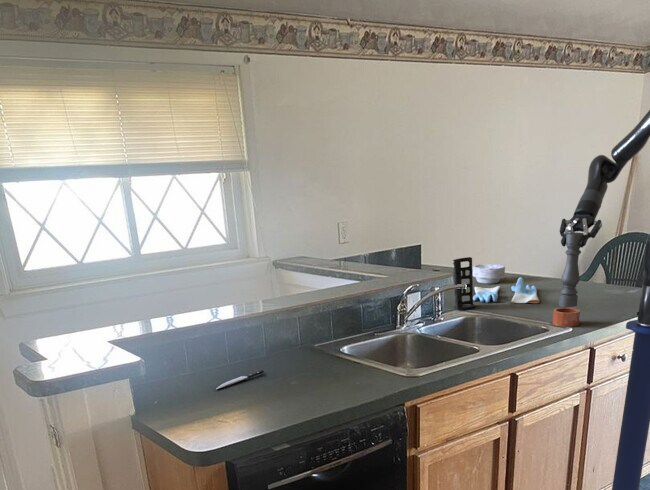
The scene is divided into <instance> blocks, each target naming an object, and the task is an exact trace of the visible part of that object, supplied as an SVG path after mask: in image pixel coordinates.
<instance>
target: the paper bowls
mask: <svg viewBox="0 0 650 490" xmlns="http://www.w3.org/2000/svg"><path fill="white" fill-rule="evenodd" d="M505 271H506V266H505V265H503V264H495V263H479V264H474V265H472V277H474V278H475V280H476V282H477V283H479V284H481V285H482V284H483V285H484V284H485V285H492V284H493V285H494V284H497V283H499V282H500V280H501V279H502V278H504V277H505V275H506V273H505Z"/></svg>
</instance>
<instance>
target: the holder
mask: <svg viewBox="0 0 650 490" xmlns="http://www.w3.org/2000/svg"><path fill="white" fill-rule="evenodd" d="M452 261H453V262H452V264H453V282H454V286H455V285H457V284H462V280H469V283H465V284H466V285H467V287H466V289H463V288H462V289H455V288H454V300H455V301H454V303H455V305H454V306H455V307H454V308H455V309H457V311H463V310H468V309H471V308H475V304H474V300H473V296H474V293H473V292H474V290H473V289H474V288H473V285H474V284H473V283H474V282H473V281H474V280H473V257H471V256H468V257H460V258H456V259H452ZM464 262H468V266H463V267H462V263H464ZM466 271H468V272H469V274H467V273H466ZM466 274H467V275H466ZM462 285H463V284H462ZM467 288H469V291H468V292H467ZM468 296H469V300H463V297H468Z"/></svg>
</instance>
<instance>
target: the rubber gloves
mask: <svg viewBox="0 0 650 490" xmlns="http://www.w3.org/2000/svg"><path fill="white" fill-rule="evenodd" d="M473 289H474V292H475V294H473V302H476V301H478V299H479V301H480V302H481V303H484V302H485V303H486V304H488V303H490V302H491V300H492V302H493V303H496V302H497V301H498V299H499V291H500V289H501V286H500V285H497V286H495V287H481V286H474V288H473ZM511 291H512V292H513V293H514V294H513V297H512V299H511V301H510V303H511V304H527V303H528V304H539V303H540V298H539V297H538V290H537V287H536V286H535V285H532V286H530V284H526V286H525V280H524V278H523V277H518V279H517V280H516V284H515V285H512V286H511Z"/></svg>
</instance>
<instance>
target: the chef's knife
mask: <svg viewBox="0 0 650 490" xmlns="http://www.w3.org/2000/svg"><path fill="white" fill-rule="evenodd" d="M263 373H265V371H264V369H260V370H259V371H257V372H254V373H250V374H247V375H241V376H238V377H236V378H233V379H231V380H228V381H226V382H223V383H222V384H220V385H219V386H217V387H216V388H215V390H219V389H222V388H225V387H228V386H231V385H233V384H236V383H239V382H241V381H244V380H247V379H251V378H253V377H255V376H258V375H261V374H263Z"/></svg>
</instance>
